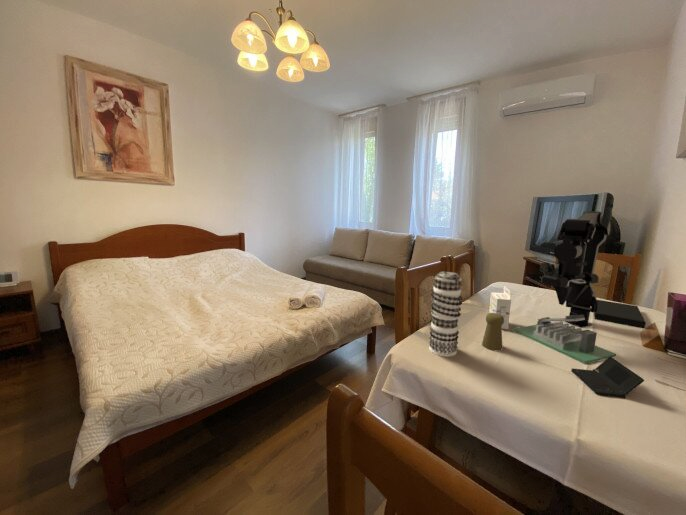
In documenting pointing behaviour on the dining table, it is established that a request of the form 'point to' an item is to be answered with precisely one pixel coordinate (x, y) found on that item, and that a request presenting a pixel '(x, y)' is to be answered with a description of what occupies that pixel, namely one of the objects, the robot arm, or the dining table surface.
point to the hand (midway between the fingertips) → (566, 303)
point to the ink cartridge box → (501, 305)
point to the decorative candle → (445, 314)
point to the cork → (493, 332)
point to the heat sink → (565, 336)
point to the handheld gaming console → (609, 379)
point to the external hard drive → (619, 314)
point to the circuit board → (571, 352)
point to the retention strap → (568, 318)
